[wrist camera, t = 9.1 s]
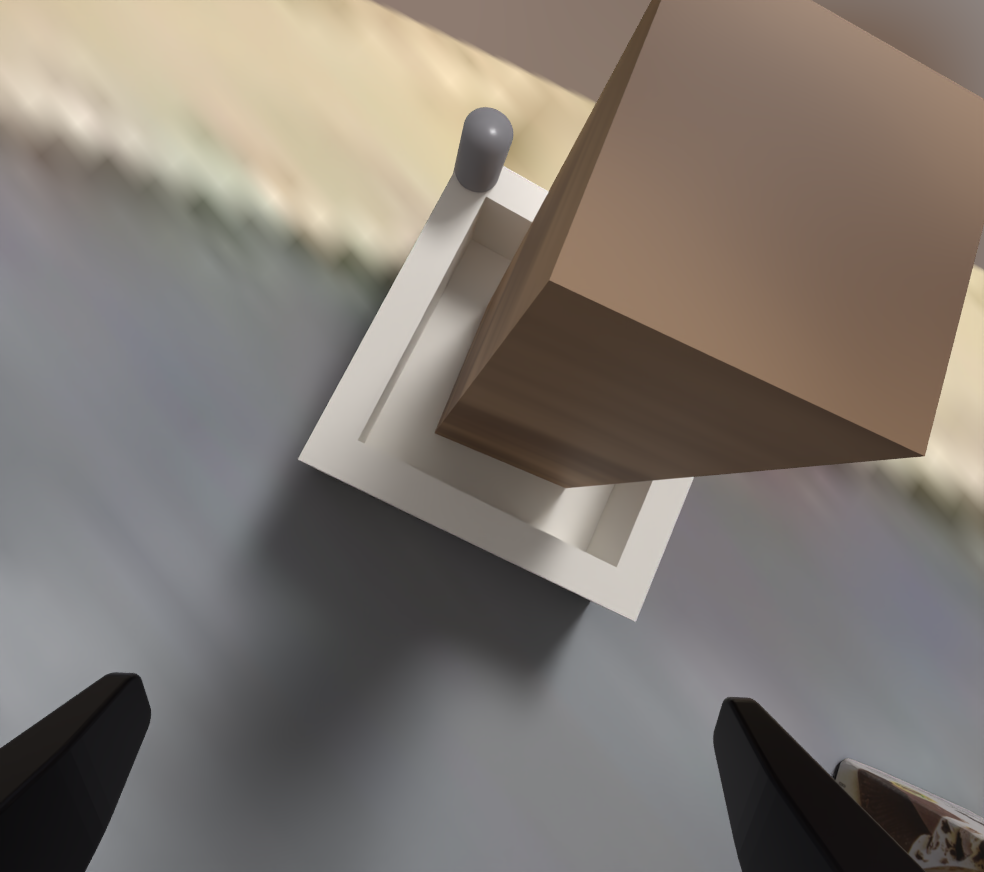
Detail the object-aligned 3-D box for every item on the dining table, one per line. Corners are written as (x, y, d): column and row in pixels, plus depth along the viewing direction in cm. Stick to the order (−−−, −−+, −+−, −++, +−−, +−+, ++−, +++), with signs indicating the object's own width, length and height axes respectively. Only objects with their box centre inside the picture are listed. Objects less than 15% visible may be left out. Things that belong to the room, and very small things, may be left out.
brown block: (565, 488, 21) (925, 456, 7) (434, 433, 20) (549, 279, 6) (612, 361, 22) (1010, 115, 8) (487, 304, 21) (689, -70, 7)
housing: (593, 602, 21) (671, 638, 16) (310, 466, 20) (282, 450, 14) (702, 341, 23) (806, 289, 18) (452, 202, 22) (477, 98, 16)
